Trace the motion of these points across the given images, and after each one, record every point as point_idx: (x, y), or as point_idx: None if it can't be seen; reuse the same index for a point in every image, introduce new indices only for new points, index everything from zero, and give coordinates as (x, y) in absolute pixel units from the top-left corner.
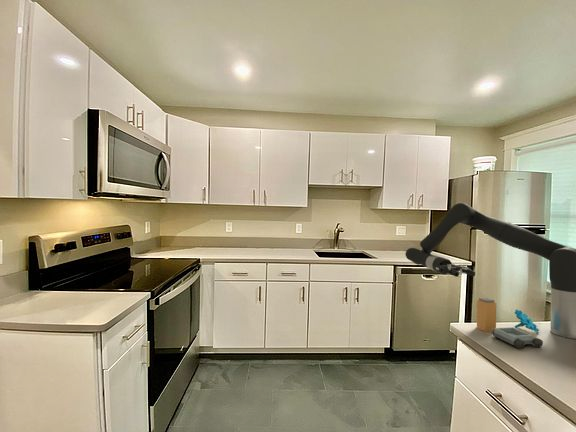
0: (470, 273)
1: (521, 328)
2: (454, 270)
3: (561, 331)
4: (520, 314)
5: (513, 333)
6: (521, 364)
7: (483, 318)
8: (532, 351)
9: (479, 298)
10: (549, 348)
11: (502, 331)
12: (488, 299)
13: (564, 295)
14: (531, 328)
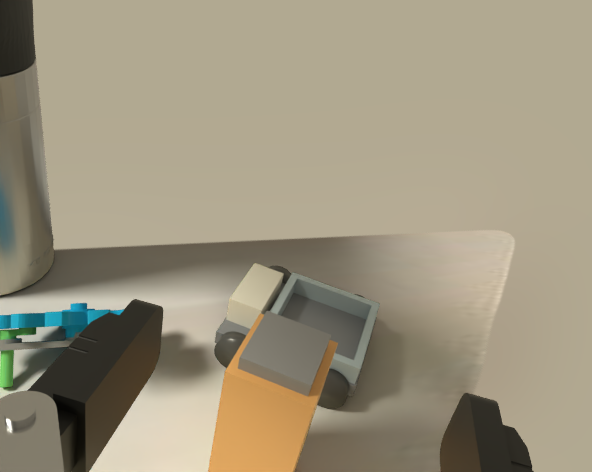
0: (131, 381)
1: (267, 297)
2: (492, 463)
3: (50, 250)
4: (82, 312)
5: None
6: (460, 297)
7: (307, 432)
8: None
9: (312, 382)
10: None
11: (366, 338)
12: (280, 336)
13: (35, 86)
14: None
